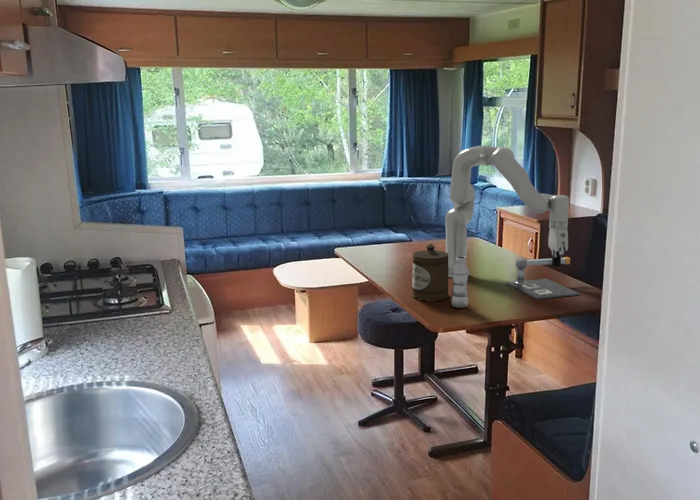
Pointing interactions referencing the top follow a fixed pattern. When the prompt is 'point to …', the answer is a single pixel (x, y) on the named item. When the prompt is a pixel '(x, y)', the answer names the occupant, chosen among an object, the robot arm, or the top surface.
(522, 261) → the bar
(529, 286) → the label plate
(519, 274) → the grey metal rounded piece
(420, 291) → the wooden container
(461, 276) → the plastic bottle
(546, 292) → the label plate
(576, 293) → the board
